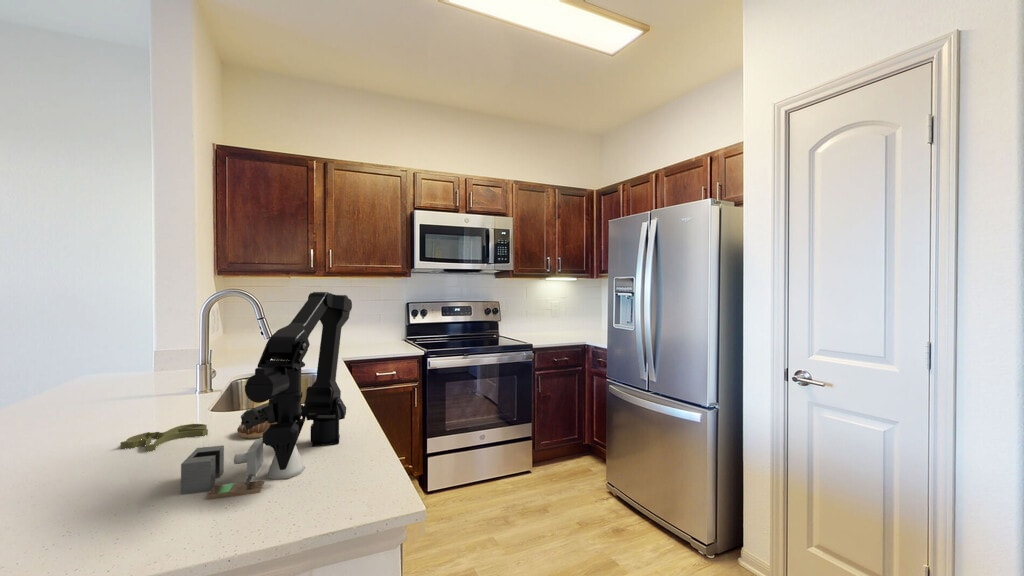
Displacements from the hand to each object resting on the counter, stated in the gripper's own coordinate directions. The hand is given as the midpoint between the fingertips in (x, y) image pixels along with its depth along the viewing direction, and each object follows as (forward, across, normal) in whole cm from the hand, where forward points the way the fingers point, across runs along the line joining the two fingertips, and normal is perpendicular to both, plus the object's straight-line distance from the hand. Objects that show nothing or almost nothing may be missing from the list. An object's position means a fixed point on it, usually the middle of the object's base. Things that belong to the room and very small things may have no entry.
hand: (286, 461), depth 95 cm
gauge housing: (+2, +2, -11) cm, 11 cm away
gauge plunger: (+1, +2, -8) cm, 8 cm away
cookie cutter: (+3, -33, -33) cm, 47 cm away
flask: (+3, 0, 0) cm, 3 cm away
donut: (+3, -31, -11) cm, 33 cm away
